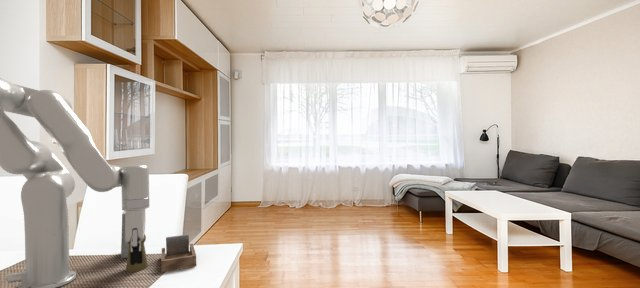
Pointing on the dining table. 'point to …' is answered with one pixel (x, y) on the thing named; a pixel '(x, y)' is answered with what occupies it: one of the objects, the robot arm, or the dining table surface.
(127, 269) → the cork
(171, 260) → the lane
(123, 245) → the skincare box
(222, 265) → the dining table surface
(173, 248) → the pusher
